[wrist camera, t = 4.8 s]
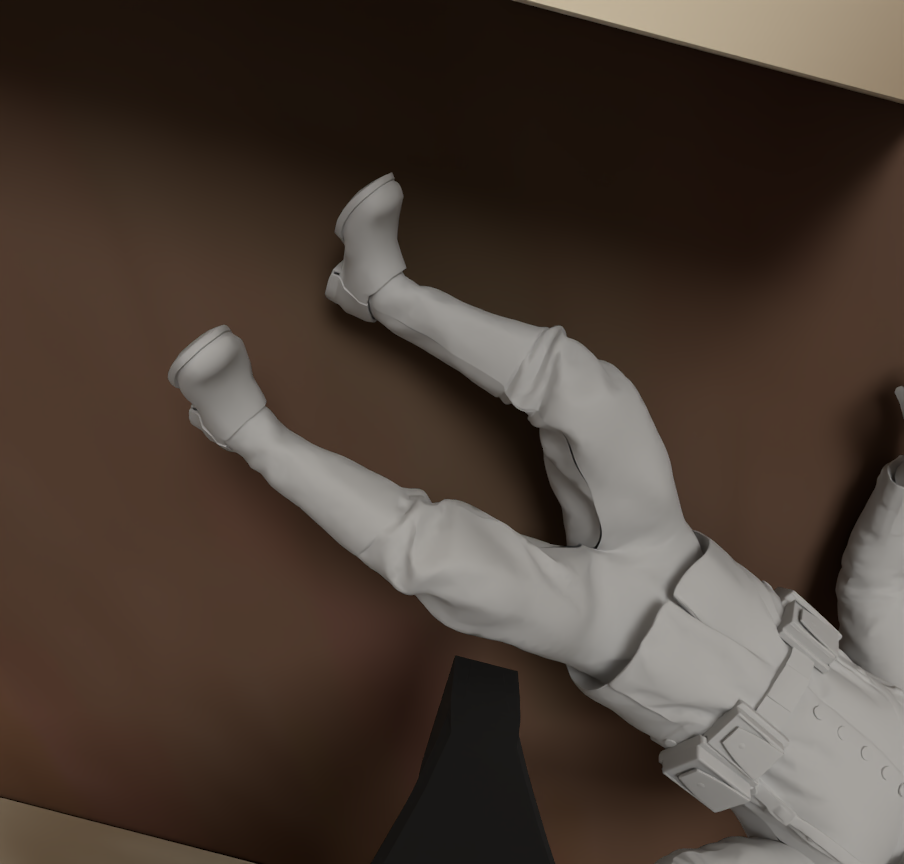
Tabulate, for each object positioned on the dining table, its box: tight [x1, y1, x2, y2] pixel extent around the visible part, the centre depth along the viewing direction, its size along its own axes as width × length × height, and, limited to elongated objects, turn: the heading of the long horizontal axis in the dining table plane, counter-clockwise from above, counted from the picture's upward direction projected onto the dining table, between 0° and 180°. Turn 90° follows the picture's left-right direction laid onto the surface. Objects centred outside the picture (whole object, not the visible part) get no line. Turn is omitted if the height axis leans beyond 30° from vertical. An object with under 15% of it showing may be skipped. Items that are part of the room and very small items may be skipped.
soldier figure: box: [168, 173, 904, 864], centre depth 10 cm, size 8×5×12 cm
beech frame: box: [0, 0, 904, 864], centre depth 11 cm, size 15×18×4 cm
